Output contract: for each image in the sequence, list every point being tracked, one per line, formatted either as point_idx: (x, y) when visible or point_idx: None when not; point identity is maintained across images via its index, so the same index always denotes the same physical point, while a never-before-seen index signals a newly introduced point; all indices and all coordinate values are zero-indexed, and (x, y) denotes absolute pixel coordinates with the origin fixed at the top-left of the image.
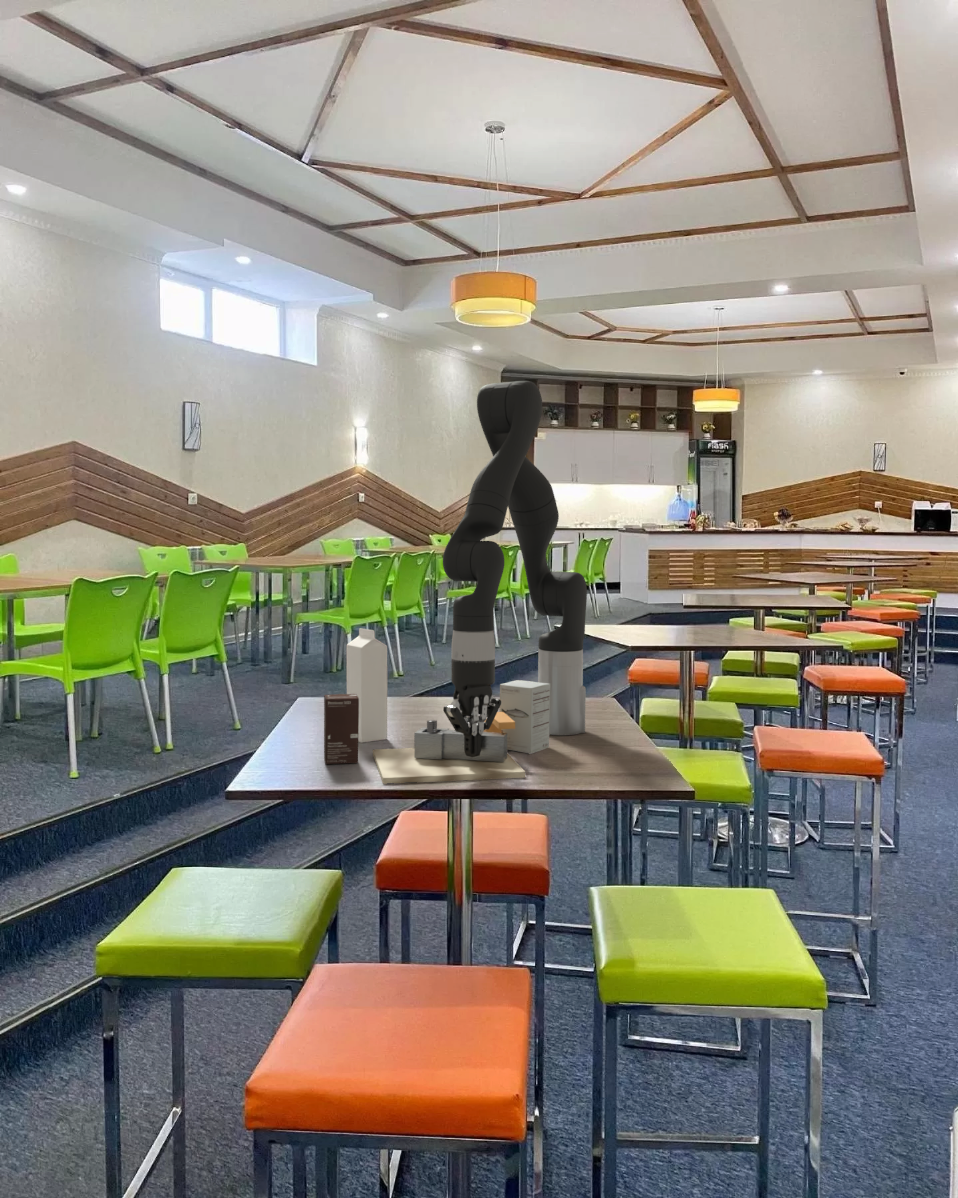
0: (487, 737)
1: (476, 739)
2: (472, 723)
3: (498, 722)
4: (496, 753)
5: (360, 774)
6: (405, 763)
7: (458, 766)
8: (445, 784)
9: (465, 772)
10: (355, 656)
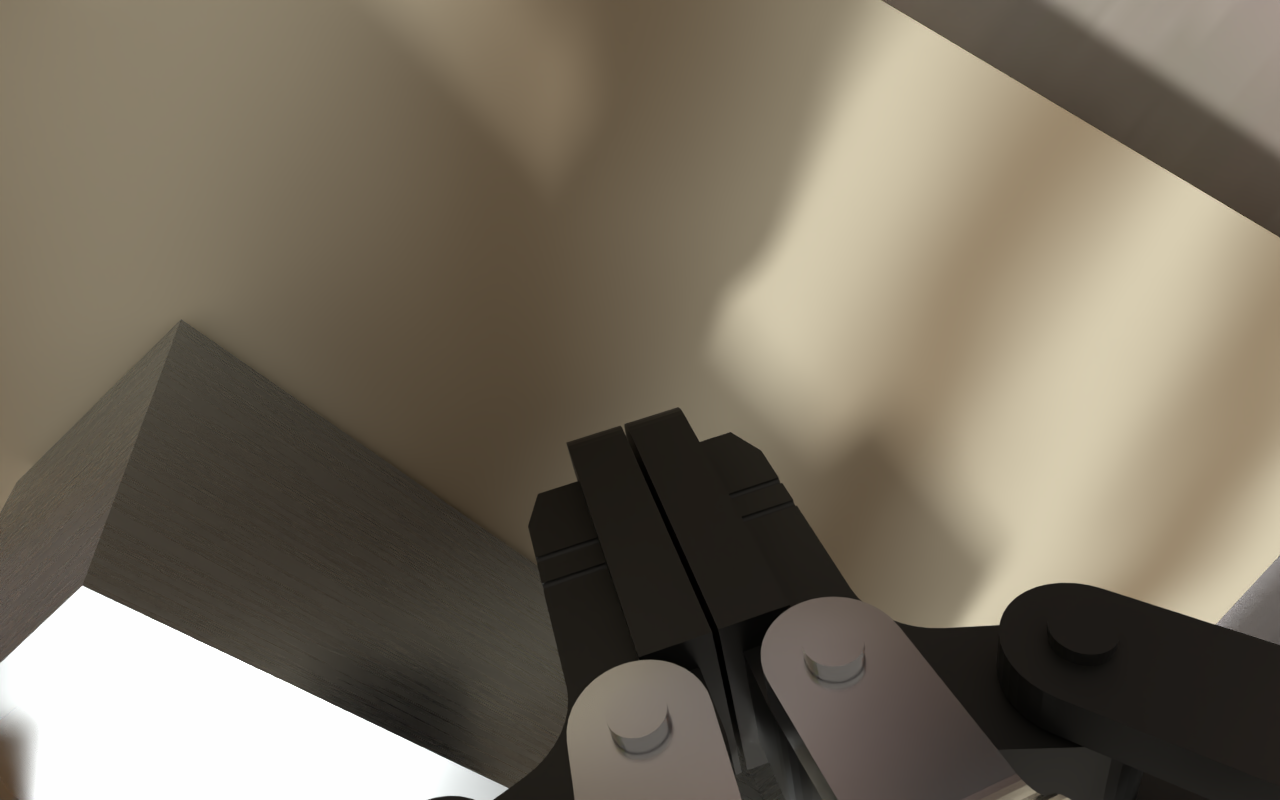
0: (383, 704)
1: (718, 576)
2: (1043, 795)
3: None
4: (263, 449)
5: (1263, 604)
6: None
7: (780, 413)
8: (1178, 25)
9: (909, 141)
10: None
